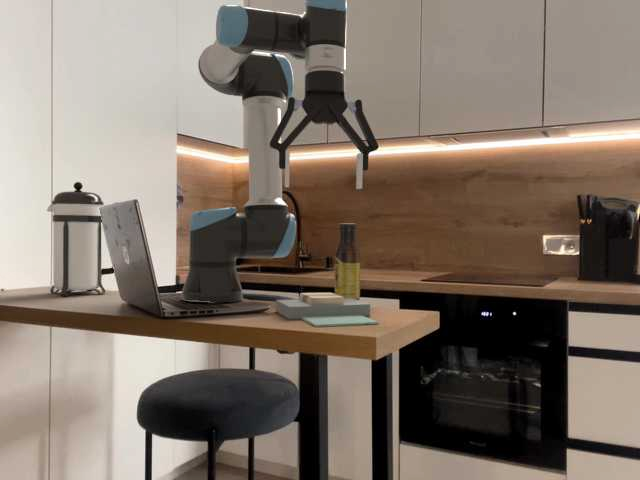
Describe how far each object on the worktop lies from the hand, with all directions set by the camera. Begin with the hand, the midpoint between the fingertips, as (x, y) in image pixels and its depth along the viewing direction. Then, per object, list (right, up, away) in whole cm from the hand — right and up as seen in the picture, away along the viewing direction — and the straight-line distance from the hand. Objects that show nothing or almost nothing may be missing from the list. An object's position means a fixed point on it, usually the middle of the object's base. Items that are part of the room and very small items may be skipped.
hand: (323, 188), depth 110 cm
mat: (+3, -26, +8) cm, 28 cm away
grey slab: (0, -26, +18) cm, 32 cm away
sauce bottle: (+6, -26, +34) cm, 43 cm away
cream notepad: (0, -23, +19) cm, 30 cm away
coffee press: (-65, -24, +49) cm, 85 cm away
